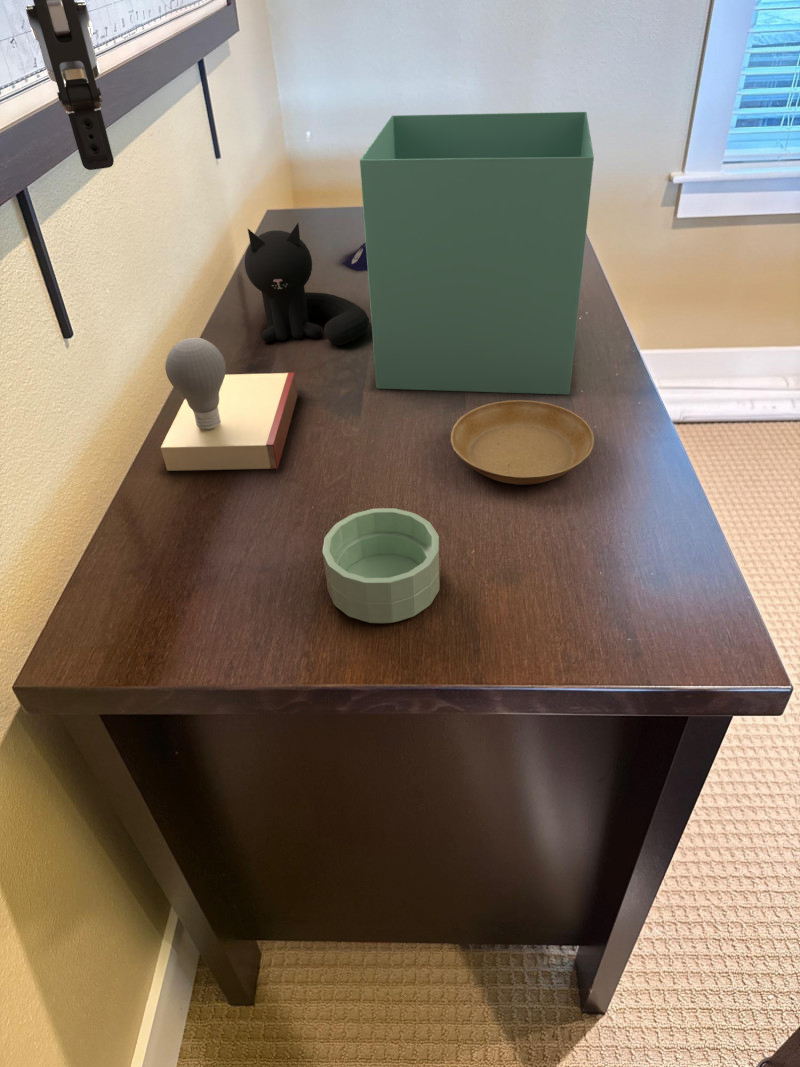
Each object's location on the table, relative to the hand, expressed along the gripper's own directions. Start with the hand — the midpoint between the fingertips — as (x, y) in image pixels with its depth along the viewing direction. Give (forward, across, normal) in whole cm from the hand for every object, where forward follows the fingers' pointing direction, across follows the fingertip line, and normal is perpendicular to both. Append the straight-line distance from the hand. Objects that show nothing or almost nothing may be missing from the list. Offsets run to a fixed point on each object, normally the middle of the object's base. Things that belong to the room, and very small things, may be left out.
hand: (96, 154), depth 59 cm
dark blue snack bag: (+32, -56, +41) cm, 77 cm away
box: (+32, -16, +40) cm, 54 cm away
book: (+32, -10, +7) cm, 34 cm away
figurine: (+32, -32, +22) cm, 51 cm away
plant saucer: (+32, +8, +34) cm, 48 cm away
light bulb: (+29, -7, +4) cm, 30 cm away
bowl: (+32, +22, +14) cm, 41 cm away
